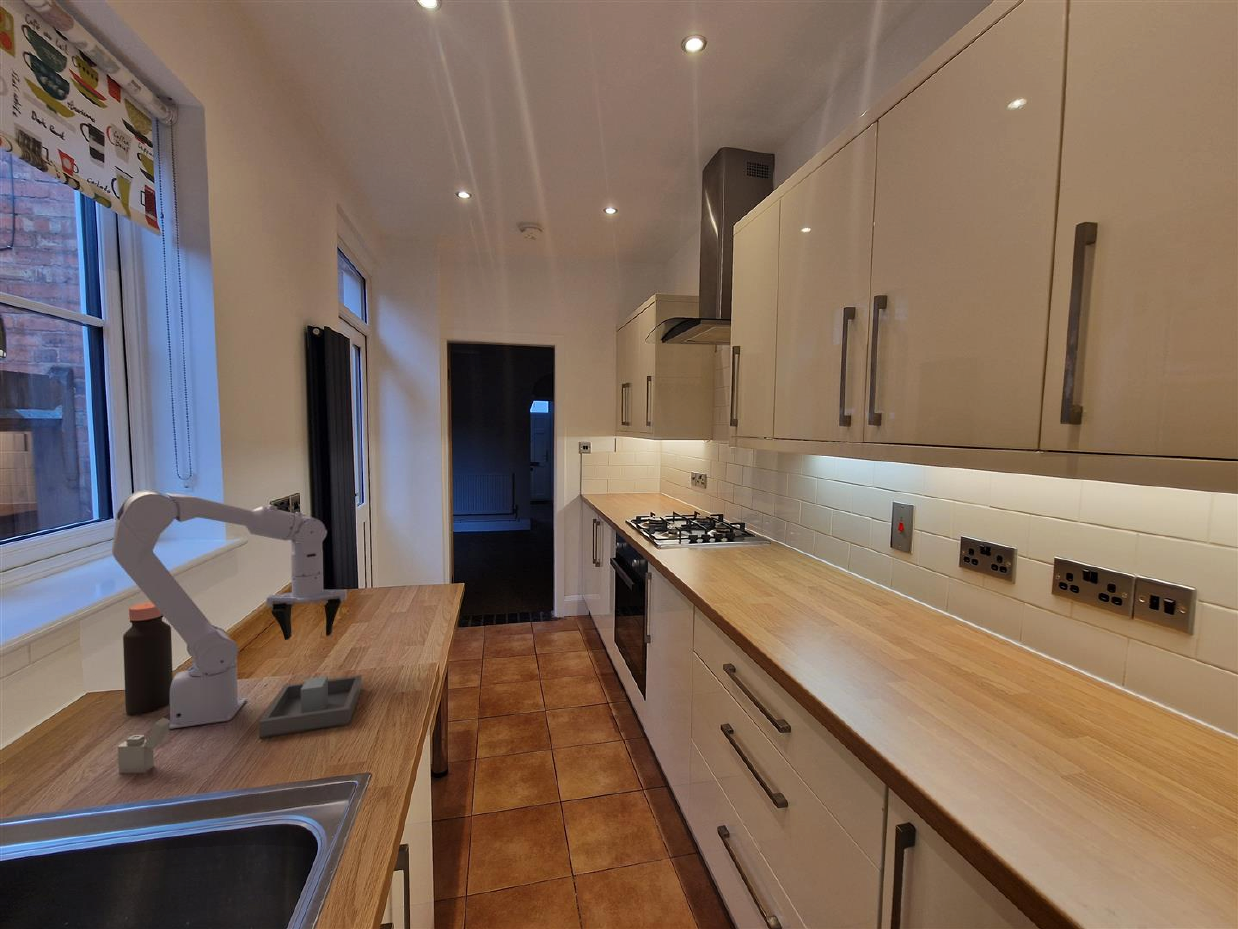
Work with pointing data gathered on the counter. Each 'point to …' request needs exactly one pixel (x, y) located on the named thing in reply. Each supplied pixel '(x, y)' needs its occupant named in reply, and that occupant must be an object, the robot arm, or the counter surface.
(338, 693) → the dark grey square tray
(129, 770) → the lighter
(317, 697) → the tall grey cuboid
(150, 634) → the bottle
